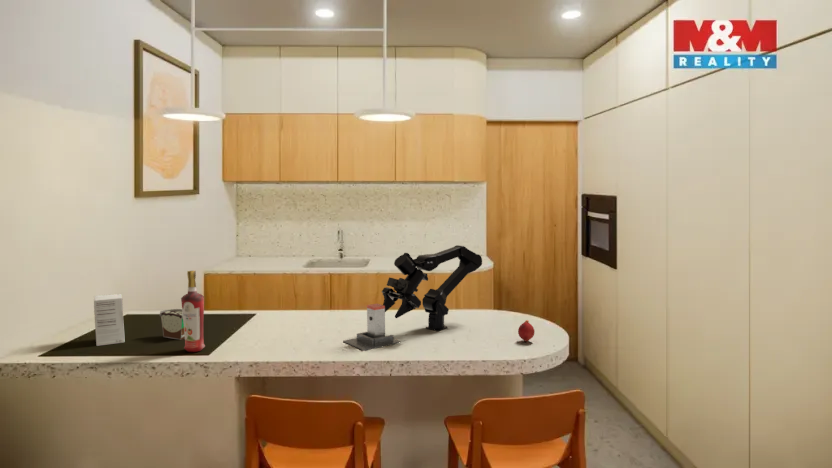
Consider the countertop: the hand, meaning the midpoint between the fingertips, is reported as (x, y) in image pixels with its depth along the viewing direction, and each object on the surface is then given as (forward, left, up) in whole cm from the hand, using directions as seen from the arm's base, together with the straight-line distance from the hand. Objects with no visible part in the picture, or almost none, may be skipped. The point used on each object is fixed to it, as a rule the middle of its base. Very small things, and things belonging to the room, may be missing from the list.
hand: (388, 315), depth 204 cm
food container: (+46, -66, -9) cm, 81 cm away
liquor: (+52, -44, -9) cm, 69 cm away
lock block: (+5, -1, -8) cm, 10 cm away
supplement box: (+65, -80, -9) cm, 104 cm away
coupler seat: (+7, -2, -9) cm, 12 cm away
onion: (-28, +43, -9) cm, 52 cm away
